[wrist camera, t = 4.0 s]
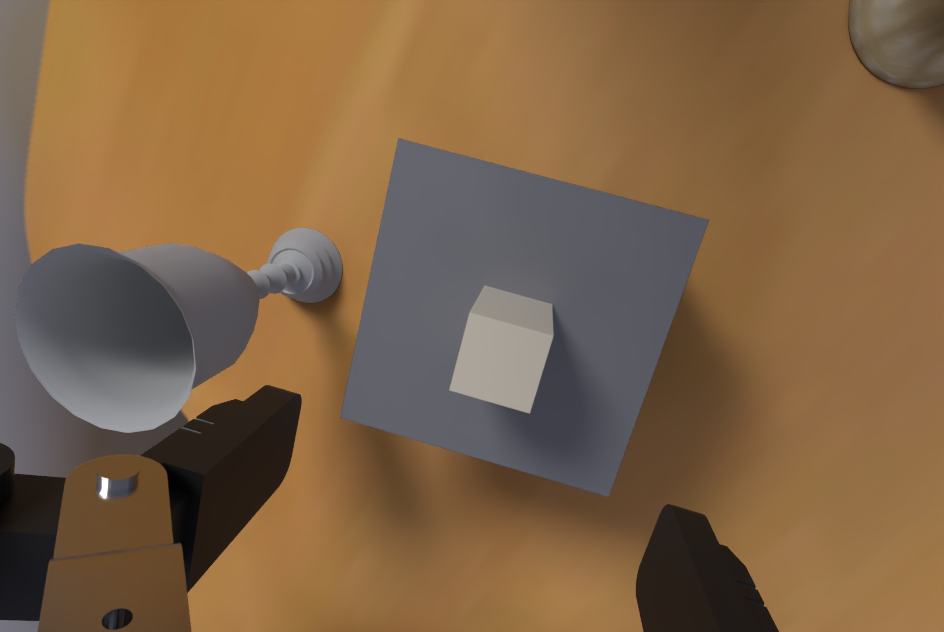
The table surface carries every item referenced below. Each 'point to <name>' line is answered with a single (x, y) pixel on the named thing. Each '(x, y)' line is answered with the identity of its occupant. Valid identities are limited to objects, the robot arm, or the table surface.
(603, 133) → the table surface
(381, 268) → the lid
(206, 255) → the chalice
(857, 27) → the hand bell
